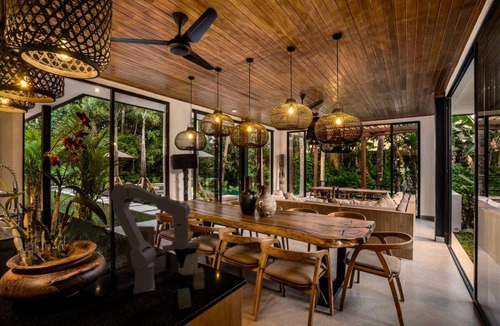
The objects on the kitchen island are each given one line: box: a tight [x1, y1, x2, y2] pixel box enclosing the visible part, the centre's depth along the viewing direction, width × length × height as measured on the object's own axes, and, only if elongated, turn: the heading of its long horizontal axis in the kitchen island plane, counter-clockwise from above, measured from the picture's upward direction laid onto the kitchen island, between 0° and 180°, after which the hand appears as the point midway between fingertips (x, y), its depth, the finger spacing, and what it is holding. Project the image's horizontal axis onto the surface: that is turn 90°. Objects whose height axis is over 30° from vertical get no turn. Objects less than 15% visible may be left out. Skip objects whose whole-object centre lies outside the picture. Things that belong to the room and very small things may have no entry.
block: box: [126, 225, 156, 274], centre depth 123 cm, size 10×10×20 cm
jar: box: [178, 248, 199, 276], centre depth 121 cm, size 9×8×12 cm
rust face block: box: [192, 267, 205, 291], centre depth 106 cm, size 4×4×7 cm
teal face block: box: [177, 287, 192, 310], centre depth 93 cm, size 4×4×7 cm
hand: (181, 267), depth 103 cm, fingers closed
